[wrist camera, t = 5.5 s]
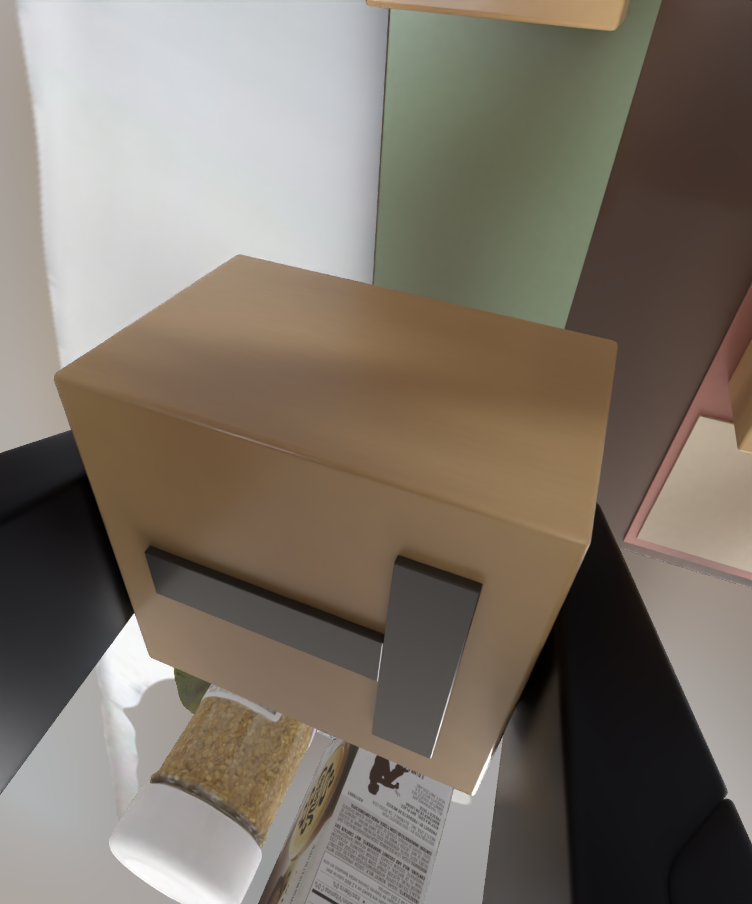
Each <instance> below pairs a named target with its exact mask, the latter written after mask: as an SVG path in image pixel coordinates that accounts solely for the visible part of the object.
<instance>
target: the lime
mask: <svg viewBox="0 0 752 904" xmlns="http://www.w3.org/2000/svg"><path fill="white" fill-rule="evenodd" d="M174 675H175V681H176V684H177V688H178V693H179V697H180V700H181V702H182V704H183V706H184V707H186V709H188V710H189V711H190V712H192V713H193V714H195V712H196V711H197V709H198V707H199V706H200V703H201V700H202V698H203V697H204V695H205V694H206V692H207V690H208V689H209V687H210V686H211V683H209V682H207V681H204V680H202V679H200V678H197V677H195V676H193V675H190V674H188V673H186V672H183V671H181V670H179V669H176V668H174Z"/></svg>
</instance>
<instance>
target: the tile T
mask: <svg viewBox="0 0 752 904" xmlns="http://www.w3.org/2000/svg"><path fill="white" fill-rule="evenodd" d="M617 350H618V345H617V342H615V341H613V340H609V339H605V338H601V337H596V336H592V335H588V334H583V333H579V332H574V331H570V330H566V329H561V328H557V327H553V326H548V325H544V324H540V323H535V322H531V321H527V320H522V319H518V318H514V317H509V316H505V315H501V314H496V313H492V312H488V311H483V310H479V309H475V308H470V307H466V306H462V305H457V304H453V303H449V302H444V301H440V300H436V299H431V298H427V297H423V296H418V295H414V294H410V293H405V292H401V291H397V290H392V289H388V288H383V287H379V286H375V285H370V284H366V283H362V282H357V281H353V280H349V279H344V278H340V277H336V276H331V275H327V274H323V273H318V272H314V271H310V270H305V269H301V268H297V267H292V266H288V265H284V264H279V263H275V262H271V261H266V260H262V259H258V258H253V257H249V256H245V255H236V256H234V257H233V258H231V259H230V260H228V261H227V262H225V263H224V264H222V265H221V266H219V267H218V268H216V269H215V270H213V271H211V272H210V273H208V274H207V275H205V276H204V277H202V278H201V279H199V280H198V281H196V282H195V283H193V284H192V285H190V286H188V287H187V288H185V289H184V290H182V291H181V292H179V293H178V294H176V295H175V296H173V297H172V298H170V299H169V300H167V301H165V302H164V303H162V304H161V305H159V306H158V307H156V308H155V309H153V310H152V311H150V312H149V313H147V314H146V315H144V316H142V317H141V318H139V319H138V320H136V321H135V322H133V323H132V324H130V325H129V326H127V327H126V328H124V329H123V330H121V331H119V332H118V333H116V334H115V335H113V336H112V337H110V338H109V339H107V340H106V341H104V342H103V343H101V344H100V345H98V346H97V347H95V348H93V349H92V350H90V351H89V352H87V353H86V354H84V355H83V356H81V357H80V358H78V359H77V360H75V361H74V362H72V363H70V364H69V365H67V366H66V367H64V368H63V369H61V370H60V371H58V372H57V373H56V374H55V375H54V381H55V384H56V387H57V390H58V393H59V396H60V399H61V401H62V404H63V407H64V410H65V413H66V416H67V419H68V422H69V425H70V428H71V431H72V433H73V436H74V439H75V442H76V445H77V448H78V451H79V454H80V457H81V459H82V462H83V465H84V468H85V471H86V474H87V477H88V480H89V483H90V486H91V488H92V491H93V494H94V497H95V500H96V503H97V506H98V509H99V512H100V514H101V517H102V520H103V523H104V526H105V529H106V532H107V535H108V538H109V541H110V543H111V546H112V549H113V552H114V555H115V558H116V561H117V564H118V567H119V569H120V572H121V575H122V578H123V581H124V584H125V587H126V590H127V593H128V595H129V598H130V601H131V604H132V607H133V610H134V613H135V616H136V619H137V622H138V624H139V627H140V630H141V633H142V636H143V639H144V642H145V645H146V648H147V650H148V653H149V656H150V657H151V658H153V659H156V660H158V661H160V662H163V663H165V664H167V665H170V666H172V667H174V668H176V669H179V670H181V671H183V672H186V673H188V674H190V675H193V676H195V677H197V678H200V679H202V680H204V681H207V682H209V683H211V684H214V685H216V686H218V687H221V688H223V689H225V690H227V691H230V692H232V693H234V694H237V695H239V696H241V697H244V698H246V699H248V700H251V701H253V702H255V703H258V704H260V705H262V706H265V707H267V708H269V709H272V710H274V711H276V712H278V713H281V714H283V715H285V716H288V717H290V718H292V719H295V720H297V721H299V722H302V723H304V724H306V725H309V726H311V727H313V728H316V729H318V730H320V731H323V732H325V733H327V734H330V735H332V736H334V737H336V738H339V739H341V740H343V741H346V742H348V743H350V744H353V745H355V746H357V747H360V748H362V749H364V750H367V751H369V752H371V753H374V754H376V755H378V756H381V757H383V758H385V759H387V760H390V761H392V762H394V763H397V764H399V765H401V766H404V767H406V768H408V769H411V770H413V771H415V772H418V773H420V774H422V775H425V776H427V777H429V778H432V779H434V780H436V781H438V782H441V783H443V784H445V785H448V786H450V787H452V788H455V789H457V790H459V791H462V792H464V793H466V794H469V795H475V794H476V793H477V791H478V789H479V786H480V784H481V782H482V780H483V778H484V775H485V773H486V771H487V769H488V767H489V765H490V762H491V760H492V758H493V756H494V754H495V752H496V749H497V747H498V745H499V743H500V741H501V738H502V736H503V734H504V732H505V730H506V727H507V725H508V723H509V721H510V719H511V717H512V714H513V712H514V710H515V708H516V706H517V703H518V701H519V699H520V697H521V695H522V692H523V690H524V688H525V686H526V684H527V682H528V679H529V677H530V675H531V673H532V671H533V668H534V666H535V664H536V662H537V660H538V657H539V655H540V653H541V651H542V649H543V647H544V644H545V642H546V640H547V638H548V636H549V633H550V631H551V629H552V627H553V625H554V622H555V620H556V618H557V616H558V614H559V612H560V609H561V607H562V605H563V603H564V601H565V598H566V596H567V594H568V592H569V590H570V588H571V585H572V583H573V581H574V579H575V577H576V574H577V572H578V570H579V568H580V566H581V563H582V561H583V559H584V557H585V555H586V553H587V550H588V548H589V546H590V544H591V538H592V530H593V523H594V516H595V509H596V501H597V494H598V487H599V480H600V473H601V465H602V458H603V451H604V444H605V436H606V429H607V422H608V415H609V408H610V400H611V393H612V386H613V379H614V371H615V364H616V357H617Z"/></svg>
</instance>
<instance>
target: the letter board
mask: <svg viewBox="0 0 752 904" xmlns="http://www.w3.org/2000/svg"><path fill="white" fill-rule="evenodd" d="M373 285H375V286H379V287H383V288H388V289H392V290H397V291H401V292H405V293H410V294H414V295H418V296H423V297H427V298H431V299H436V300H440V301H444V302H449V303H453V304H457V305H462V306H466V307H470V308H475V309H479V310H483V311H488V312H492V313H496V314H501V315H505V316H509V317H514V318H518V319H522V320H527V321H531V322H535V323H540V324H544V325H548V326H553V327H557V328H561V329H566V330H570V331H574V332H579V333H583V334H588V335H592V336H596V337H601V338H605V339H609V340H613V341H615V342H617V345H618V350H617V357H616V364H615V371H614V379H613V386H612V393H611V400H610V408H609V415H608V422H607V429H606V436H605V444H604V451H603V458H602V465H601V473H600V480H599V487H598V494H597V501H596V502H597V503H598V504H599V505H600V506H601V508H602V511H603V513H604V515H605V517H606V520H607V522H608V524H609V526H610V529H611V531H612V533H613V535H614V537H615V540H616V542H617V544H618V546H619V548H620V549H623V550H627V551H630V552H634V553H637V554H640V555H643V556H647V557H650V558H653V559H657V560H660V561H663V562H666V563H669V564H673V565H676V566H680V567H683V568H686V569H689V570H692V571H696V572H699V573H702V574H706V575H709V576H712V577H715V578H719V579H722V580H725V581H729V582H732V583H735V584H738V585H742V586H745V587H748V588H752V454H749V453H745V452H742V451H739V450H738V448H737V441H736V435H735V428H734V421H733V414H732V408H731V401H730V394H729V387H728V383H729V381H730V379H731V377H732V375H733V373H734V372H735V370H736V368H737V366H738V364H739V362H740V360H741V358H742V357H743V355H744V353H745V351H746V349H747V347H748V345H749V343H750V342H751V340H752V0H632V1H631V5H630V9H629V12H628V16H627V18H626V19H625V20H624V22H623V23H622V24H621V25H620V26H619V27H618V28H617V29H616V30H614V31H604V30H594V29H585V28H575V27H565V26H556V25H546V24H536V23H526V22H517V21H507V20H497V19H487V18H478V17H468V16H458V15H448V14H439V13H429V12H419V11H409V10H400V9H390V8H389V15H388V32H387V48H386V65H385V82H384V99H383V116H382V133H381V150H380V167H379V184H378V201H377V217H376V234H375V251H374V268H373Z"/></svg>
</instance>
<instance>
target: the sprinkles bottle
mask: <svg viewBox="0 0 752 904" xmlns="http://www.w3.org/2000/svg"><path fill="white" fill-rule="evenodd" d="M316 732H317V729H316V728H313V727H311V726H309V725H306V724H304V723H302V722H299V721H297V720H295V719H292V718H290V717H288V716H285V715H283V714H281V713H278V712H276V711H274V710H272V709H269V708H267V707H265V706H262V705H260V704H258V703H255V702H253V701H251V700H248V699H246V698H244V697H241V696H239V695H237V694H234V693H232V692H230V691H227V690H225V689H223V688H221V687H218V686H216V685H214V684H211V686H210V687H209V689H208V690H207V692H206V694H205V695H204V697H203V698H202V700H201V703H200V706H199V707H198V709H197V711H196V712H195V714H194V715H193V717H192V719H191V720H190V722H189V723H188V725H187V726H186V728H185V730H184V732H183V733H182V734H181V736H180V737H179V739H178V741H177V742H176V744H175V745H174V747H173V749H172V750H171V752H170V753H169V755H168V756H167V758H166V759H165V761H164V763H163V765H162V767H161V768H160V770H159V771H158V772H156V773H154V774H153V775H152V776H151V781H150V784H146V785H144V786H142V787H141V788H140V790H139V791H138V793H137V794H136V796H135V798H134V799H133V801H132V802H131V804H130V805H129V807H128V808H127V810H126V811H125V813H124V815H123V816H122V818H121V820H120V821H119V823H118V825H117V826H116V828H115V830H114V831H113V833H112V835H111V837H110V840H109V845H110V848H111V851H112V853H113V854H114V855H115V857H116V858H117V859H118V860H119V861H120V862H121V863H122V864H123V865H124V866H126V867H127V868H128V869H129V870H130V871H132V872H133V873H134V874H135V875H137V876H138V877H140V878H141V879H142V880H143V881H145V882H146V883H148V884H149V885H151V886H152V887H154V888H155V889H157V890H158V891H160V892H161V893H163V894H165V895H167V896H168V897H170V898H172V899H174V900H175V901H177V902H179V903H181V904H241V902H242V900H243V898H244V896H245V894H246V891H247V889H248V888H249V885H250V883H251V881H252V879H253V877H254V874H255V872H256V870H257V868H258V866H259V863H260V861H261V859H262V853H261V849H260V848H262V847H263V843H264V842H265V841H266V834H267V831H268V829H269V827H270V826H271V824H272V822H273V819H274V817H275V815H276V813H277V811H278V808H279V806H280V804H281V802H282V800H283V799H284V796H285V794H286V791H287V789H288V787H289V786H290V784H291V782H292V780H293V778H294V776H295V773H296V770H297V768H298V766H299V764H300V762H301V760H302V758H303V755H304V754H305V752H306V750H307V749H308V748H309V746H310V744H311V742H312V740H313V738H314V736H315V734H316Z"/></svg>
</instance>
